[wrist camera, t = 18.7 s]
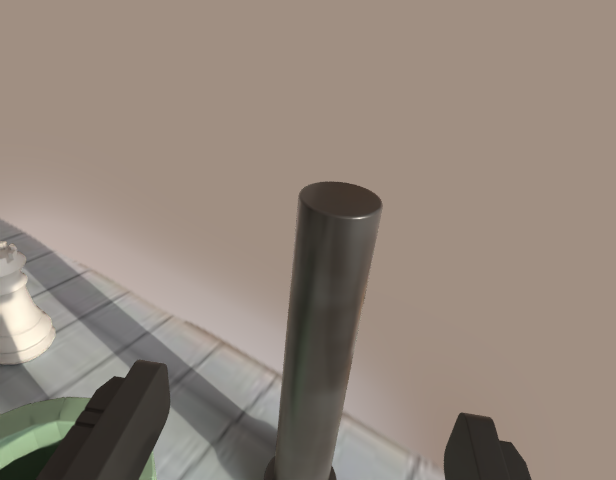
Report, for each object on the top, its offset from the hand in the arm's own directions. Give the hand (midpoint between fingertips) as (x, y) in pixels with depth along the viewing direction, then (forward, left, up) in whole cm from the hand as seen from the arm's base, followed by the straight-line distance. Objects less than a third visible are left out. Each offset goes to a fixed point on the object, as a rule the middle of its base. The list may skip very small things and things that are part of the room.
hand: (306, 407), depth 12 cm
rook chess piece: (-23, +9, -15) cm, 29 cm away
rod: (-1, +6, -14) cm, 16 cm away
